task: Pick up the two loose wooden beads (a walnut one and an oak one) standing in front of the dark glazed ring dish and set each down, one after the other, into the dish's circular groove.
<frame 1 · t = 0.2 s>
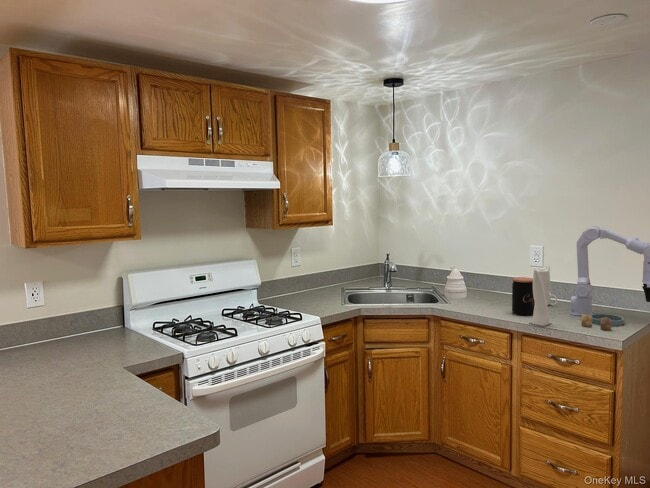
hand: (649, 300, 233), 10 cm above the countertop, fingers open, 7 cm apart
oak bead: (586, 326, 229), on the countertop
skyscraper: (541, 325, 233), on the countertop
honey pot: (455, 296, 302), on the countertop
coffee jar: (523, 314, 255), on the countertop
mug: (545, 305, 272), on the countertop
walnut bead: (605, 329, 222), on the countertop
ring dish: (606, 322, 234), on the countertop
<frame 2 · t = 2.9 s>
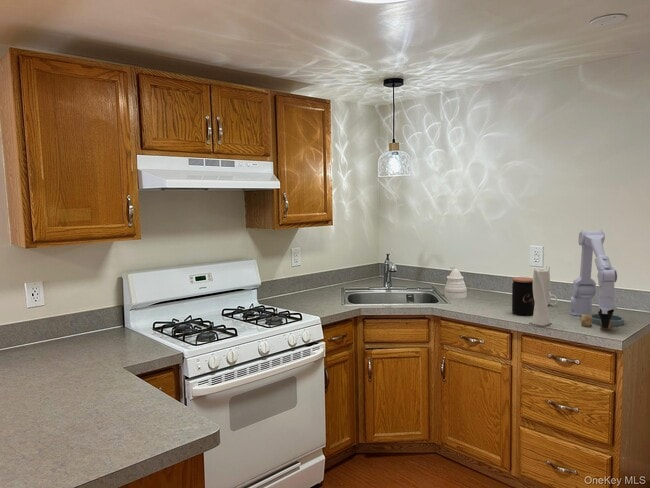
hand: (605, 326, 222), 1 cm above the countertop, fingers closed on walnut bead, 4 cm apart
walnut bead: (605, 329, 222), on the countertop, touching gripper
everything else where it was.
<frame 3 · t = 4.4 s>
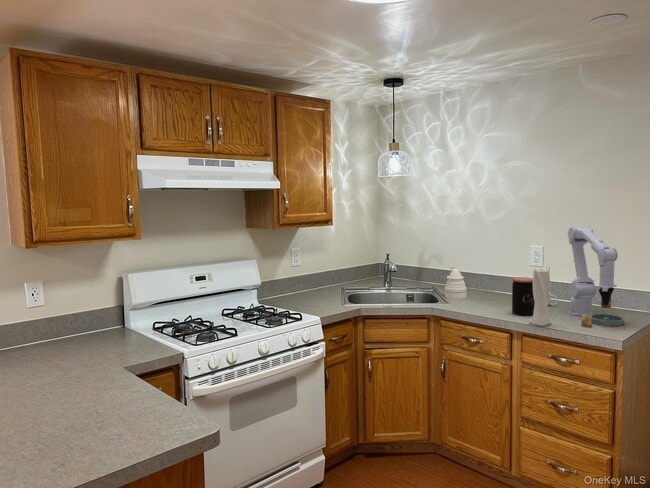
hand: (606, 304, 230), 9 cm above the countertop, fingers closed on walnut bead, 4 cm apart
walnut bead: (606, 307, 230), point 8 cm above the countertop, touching gripper
everything else where it was.
when the fingers open (3 cm above the countertop, at t = 6.0 s): walnut bead stays where it is, resting on ring dish.
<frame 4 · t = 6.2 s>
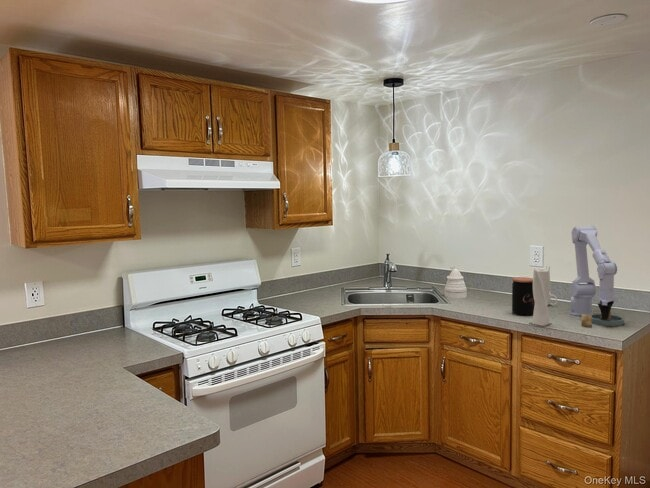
hand: (605, 317, 231), 3 cm above the countertop, fingers open, 6 cm apart
walnut bead: (605, 322, 231), point 1 cm above the countertop, touching ring dish
everything else where it was.
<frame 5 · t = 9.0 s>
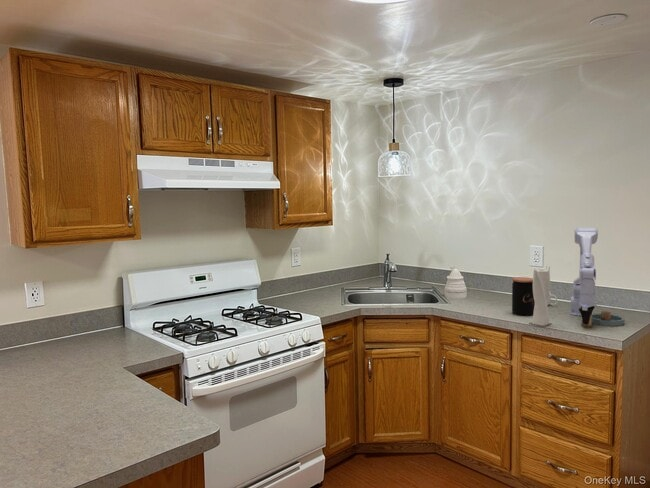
hand: (586, 322, 229), 1 cm above the countertop, fingers closed on oak bead, 4 cm apart
oak bead: (586, 325, 229), on the countertop, touching gripper
everything else where it was.
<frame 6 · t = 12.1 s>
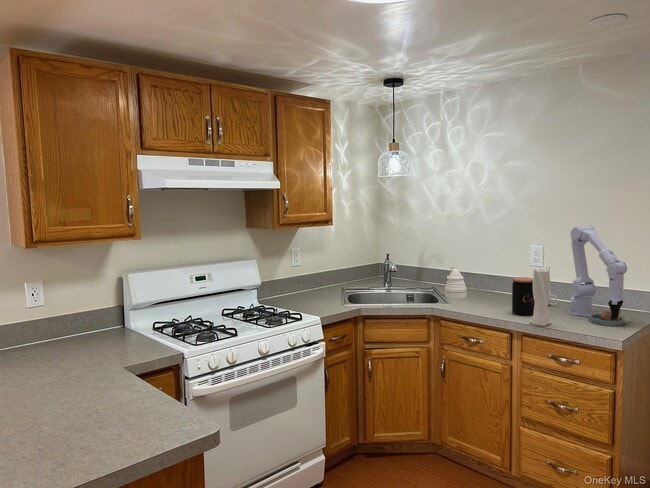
hand: (615, 316, 232), 3 cm above the countertop, fingers closed on oak bead, 4 cm apart
oak bead: (615, 320, 232), point 2 cm above the countertop, touching gripper
walnut bead: (605, 322, 231), point 1 cm above the countertop, touching gripper, ring dish
everything else where it was.
when the fingers open (3 cm above the countertop, at t = 12.4 s): oak bead stays where it is, resting on ring dish.
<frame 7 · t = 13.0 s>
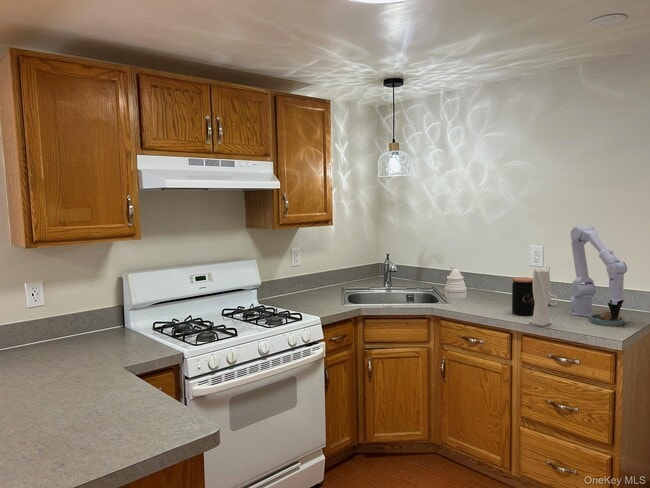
hand: (615, 316, 232), 3 cm above the countertop, fingers open, 7 cm apart
oak bead: (614, 322, 232), point 1 cm above the countertop, touching ring dish
everything else where it was.
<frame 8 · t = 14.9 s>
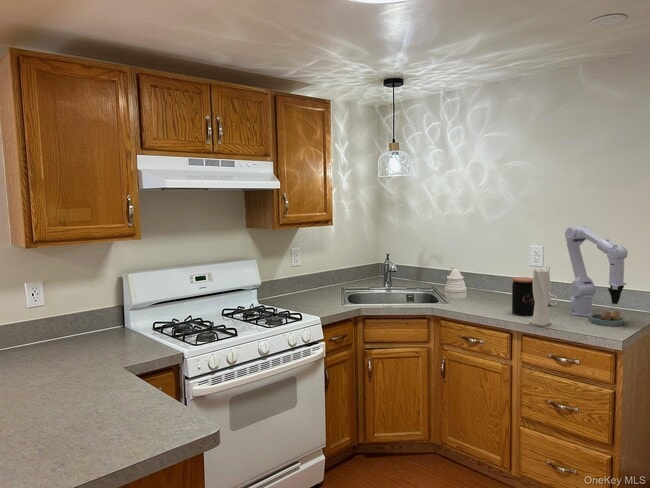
hand: (615, 302, 231), 10 cm above the countertop, fingers open, 7 cm apart
walnut bead: (605, 322, 231), point 1 cm above the countertop, touching ring dish
everything else where it was.
at the end: walnut bead 0.1 cm from the target spot on the ring dish, point 0.6 cm above the ring dish's base; oak bead 0.1 cm from the target spot on the ring dish, point 0.6 cm above the ring dish's base; oak bead tilted 0° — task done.
